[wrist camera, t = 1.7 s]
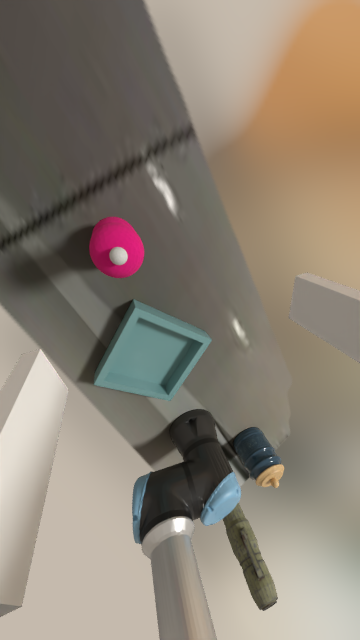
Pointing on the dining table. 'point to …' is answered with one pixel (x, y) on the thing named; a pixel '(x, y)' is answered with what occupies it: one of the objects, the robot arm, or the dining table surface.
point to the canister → (259, 457)
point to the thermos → (250, 558)
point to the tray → (150, 353)
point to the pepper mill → (116, 248)
